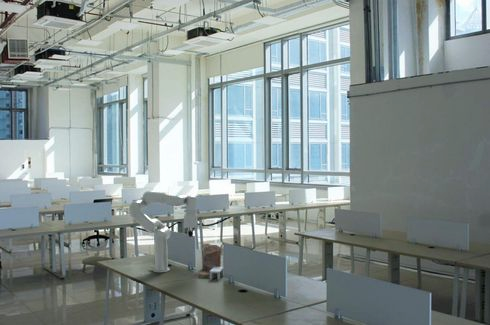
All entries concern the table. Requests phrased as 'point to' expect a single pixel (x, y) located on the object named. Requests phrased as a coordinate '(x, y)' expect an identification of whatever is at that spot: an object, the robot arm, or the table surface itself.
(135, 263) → the table surface
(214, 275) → the panel
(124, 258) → the table surface
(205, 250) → the stone
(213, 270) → the bridge
